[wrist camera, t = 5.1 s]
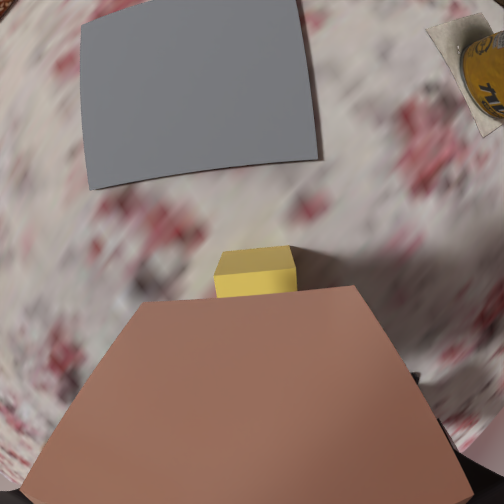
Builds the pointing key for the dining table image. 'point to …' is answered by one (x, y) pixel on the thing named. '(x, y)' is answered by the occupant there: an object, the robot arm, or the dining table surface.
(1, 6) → the slice of bread
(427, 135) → the dining table surface
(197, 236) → the dining table surface
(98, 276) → the dining table surface
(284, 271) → the yellow block
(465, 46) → the condiment
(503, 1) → the kendama
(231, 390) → the salmon cube
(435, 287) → the dining table surface
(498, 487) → the robot arm
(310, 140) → the grey panel
